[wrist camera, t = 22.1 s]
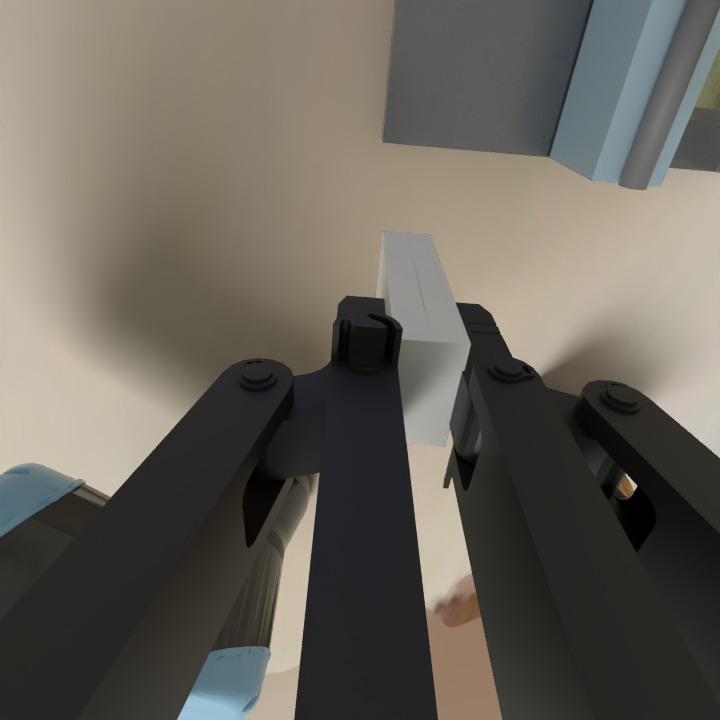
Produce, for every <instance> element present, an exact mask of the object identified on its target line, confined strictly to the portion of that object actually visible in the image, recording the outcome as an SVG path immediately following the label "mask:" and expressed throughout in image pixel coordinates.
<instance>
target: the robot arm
mask: <svg viewBox="0 0 720 720" xmlns="http://www.w3.org/2000/svg"><path fill="white" fill-rule="evenodd" d="M450 430H451V434H452V438H453V442H454V443H453V447H452V451H451V455H450V458H449V462H448V466H447V470H446V474H445V478H444V485H443V488H448V487H449V484H450V480H451V478H453V483H454V487H455V492H456V497H457V502H458V507H459V512H460V517H461V521H462V526H463V531H464V536H465V541H466V546H467V550H468V555H469V560H470V565H471V570H472V575H473V579H474V584H475V589H476V594H477V599H478V604H479V609H480V613H481V618H482V623H483V628H484V633H485V638H486V642H487V647H488V652H489V657H490V662H491V667H492V671H493V676H494V681H495V686H496V691H497V695H498V700H499V705H500V710H501V715H502V720H720V458H719V457H718V456H717V455H715V454H714V453H713V452H712V451H711V450H709V449H708V448H707V447H706V446H705V445H704V444H702V443H701V442H700V441H699V440H698V439H696V438H695V437H694V436H693V435H692V434H691V433H689V432H688V431H687V430H686V429H685V428H683V427H682V426H681V425H680V424H679V423H678V422H676V421H675V420H674V419H673V418H672V417H670V416H669V415H668V414H667V413H666V412H665V411H663V410H662V409H661V408H660V407H659V406H657V405H656V404H655V403H654V402H653V401H652V400H650V399H649V398H648V397H646V396H645V395H643V394H642V393H640V392H639V391H637V390H635V389H633V388H631V387H628V386H627V385H625V384H622V383H619V382H618V383H617V382H614V381H601V380H597V381H593V382H589V383H587V384H586V386H585V387H584V388H583V390H582V392H581V394H580V397H578V396H575V395H571V394H567V393H563V392H559V391H555V390H552V389H549V388H546V386H545V385H544V383H543V381H542V379H541V377H540V375H539V374H538V373H537V372H536V371H535V369H534V368H533V367H531V366H530V365H528V364H526V363H525V362H523V361H521V360H518V359H515V358H513V357H512V355H511V353H510V351H509V349H508V347H507V345H506V343H505V341H504V339H503V337H502V335H500V331H499V329H498V327H497V326H496V323H495V321H494V319H493V317H492V315H491V313H489V312H488V311H487V310H486V309H484V308H483V307H482V306H481V305H479V304H469V303H455V300H454V297H453V295H452V292H451V289H450V286H449V284H448V281H447V278H446V276H445V273H444V270H443V268H442V265H441V262H440V260H439V257H438V254H437V252H436V249H435V246H434V243H433V241H432V238H431V235H427V234H414V233H402V232H389V231H383V233H382V242H381V252H380V261H379V270H378V280H377V289H376V298H370V297H356V296H346V297H345V298H344V299H343V300H342V301H341V302H340V303H339V304H338V312H337V318H336V320H335V322H334V324H333V337H332V355H331V361H330V363H329V364H328V365H327V366H325V367H324V368H322V369H321V370H318V371H316V372H313V373H309V374H305V375H299V376H293V374H292V371H291V369H289V368H288V367H287V366H286V365H284V364H283V363H280V362H277V361H274V360H270V359H260V358H258V359H250V360H244V361H241V362H239V363H236V364H233V365H232V366H231V367H229V368H228V369H227V370H225V371H224V372H223V373H222V374H221V375H220V377H219V378H218V379H217V380H216V381H215V382H214V383H213V384H212V386H211V387H210V388H209V389H208V390H207V391H206V392H205V393H204V394H203V396H202V397H201V398H200V399H199V400H198V401H197V402H196V403H195V404H194V406H193V407H192V408H191V409H190V410H189V411H188V412H187V413H186V415H185V416H184V417H183V418H182V419H181V420H180V421H179V422H178V423H177V425H176V426H175V427H174V428H173V429H172V430H171V431H170V432H169V433H168V435H167V436H166V437H165V438H164V439H163V440H162V441H161V442H160V444H159V445H158V446H157V447H156V448H155V449H154V450H153V451H152V452H151V454H150V455H149V456H148V457H147V458H146V459H145V460H144V461H143V462H142V464H141V465H140V466H139V467H138V468H137V469H136V470H135V471H134V473H133V474H132V475H131V476H130V477H129V478H128V479H127V480H126V481H125V483H124V484H123V485H122V486H121V487H120V488H119V489H118V490H117V491H116V493H115V494H114V495H113V496H112V497H110V496H108V495H106V494H104V493H102V492H100V491H98V490H96V489H94V488H92V487H90V486H88V485H86V484H85V483H86V482H85V481H84V480H82V479H78V480H76V479H73V478H71V477H69V476H66V475H64V474H62V473H60V472H57V471H55V470H53V469H50V468H48V467H46V466H43V465H40V464H35V463H27V464H21V465H18V466H15V467H13V468H11V469H9V470H7V471H6V472H4V473H3V474H1V475H0V720H243V719H244V718H245V717H246V716H247V715H248V714H249V713H250V712H251V711H252V710H253V708H254V707H255V705H256V704H257V702H258V699H259V696H260V693H261V688H262V684H263V680H264V676H265V671H266V667H267V663H268V661H269V659H270V656H271V652H270V643H271V637H272V630H273V624H274V617H275V611H276V604H277V597H278V591H279V584H280V578H281V571H282V564H283V558H284V552H285V549H286V547H287V545H288V543H289V542H290V540H291V538H292V536H293V534H294V532H295V530H296V529H297V527H298V525H299V523H300V521H301V519H302V518H303V516H304V514H305V512H306V509H307V506H308V500H309V493H310V479H309V474H314V473H319V472H320V475H319V484H318V494H317V504H316V514H315V523H314V533H313V543H312V553H311V562H310V572H309V582H308V591H307V601H306V611H305V621H304V630H303V640H302V650H301V659H300V670H299V679H298V690H297V699H296V708H295V718H294V720H438V716H437V708H436V698H435V689H434V680H433V672H432V664H431V654H430V645H429V637H428V628H427V619H426V610H425V601H424V592H423V584H422V575H421V566H420V557H419V549H418V540H417V531H416V522H415V513H414V505H413V496H412V487H411V478H410V469H409V461H408V452H407V444H411V445H427V446H443V447H446V443H447V439H448V435H449V431H450ZM625 474H627V475H628V476H629V477H630V478H631V479H632V480H633V481H634V482H635V483H636V485H637V488H636V490H635V491H634V493H633V494H632V496H631V497H630V498H628V497H626V496H625V495H624V494H623V493H622V492H621V491H620V490H619V489H618V486H619V485H620V483H621V481H622V479H623V478H624V476H625Z"/></svg>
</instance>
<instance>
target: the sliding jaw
mask: <svg viewBox="0 0 720 720" xmlns="http://www.w3.org/2000/svg"><path fill="white" fill-rule="evenodd" d="M719 47H720V0H594V2H593V6H592V9H591V13H590V17H589V20H588V24H587V27H586V31H585V34H584V38H583V41H582V45H581V48H580V52H579V55H578V59H577V62H576V66H575V69H574V73H573V76H572V80H571V83H570V87H569V90H568V94H567V97H566V101H565V104H564V108H563V112H562V115H561V119H560V122H559V126H558V129H557V133H556V136H555V140H554V143H553V147H552V150H551V154H550V157H549V158H551V159H552V160H554V161H556V162H558V163H560V164H562V165H563V166H565V167H567V168H569V169H571V170H573V171H574V172H576V173H578V174H580V175H582V176H584V177H585V178H587V179H589V180H591V181H601V182H612V183H619V184H618V185H620V186H622V187H626V188H630V189H636V190H646V188H647V186H659V187H661V185H662V183H663V180H664V178H665V175H666V173H667V171H668V168H669V166H670V164H671V161H672V159H673V156H674V154H675V152H676V149H677V147H678V145H679V142H680V140H681V138H682V135H683V133H684V130H685V128H686V126H687V123H688V121H689V119H690V116H691V114H692V111H693V109H694V107H695V104H696V102H697V100H698V97H699V95H700V92H701V90H702V88H703V85H704V83H705V81H706V78H707V76H708V74H709V71H710V69H711V66H712V64H713V62H714V59H715V57H716V55H717V52H718V50H719Z"/></svg>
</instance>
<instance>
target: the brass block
mask: <svg viewBox="0 0 720 720" xmlns="http://www.w3.org/2000/svg"><path fill="white" fill-rule="evenodd" d="M695 107H699V108H706V109H712V110H719V111H720V47H719V50H718V52H717V55H716V57H715V59H714V62H713V64H712V66H711V69H710V71H709V74H708V76H707V78H706V81H705V83H704V85H703V88H702V90H701V92H700V95H699V97H698V100H697V102H696V104H695Z"/></svg>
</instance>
